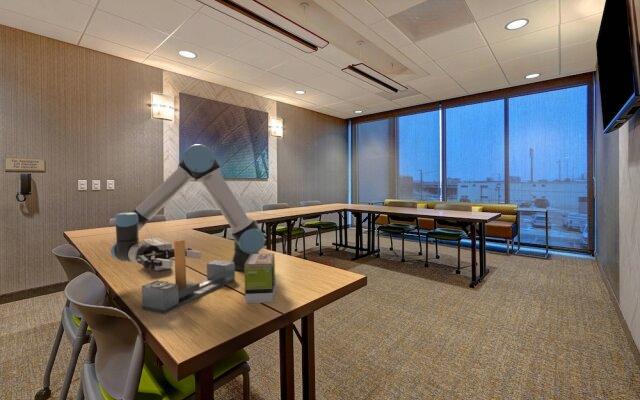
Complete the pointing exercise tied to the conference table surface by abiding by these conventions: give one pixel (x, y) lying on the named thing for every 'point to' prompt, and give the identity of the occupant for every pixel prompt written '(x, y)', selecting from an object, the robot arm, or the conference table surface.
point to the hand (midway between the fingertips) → (186, 259)
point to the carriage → (182, 271)
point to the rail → (166, 294)
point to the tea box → (259, 278)
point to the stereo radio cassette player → (161, 245)
